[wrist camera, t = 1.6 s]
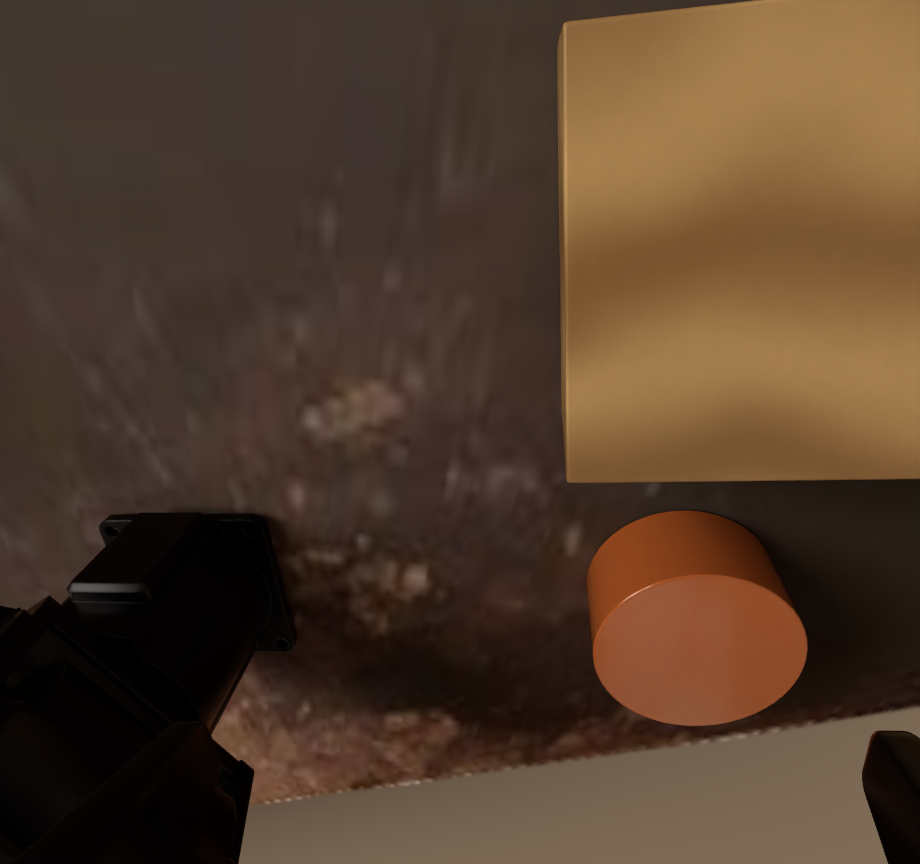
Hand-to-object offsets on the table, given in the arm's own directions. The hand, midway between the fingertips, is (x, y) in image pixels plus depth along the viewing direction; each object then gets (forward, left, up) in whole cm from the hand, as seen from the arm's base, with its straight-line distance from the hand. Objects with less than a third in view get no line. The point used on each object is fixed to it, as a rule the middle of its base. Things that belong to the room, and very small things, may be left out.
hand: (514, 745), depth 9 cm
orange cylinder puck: (-8, -5, -13) cm, 16 cm away
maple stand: (+4, -8, -13) cm, 16 cm away
